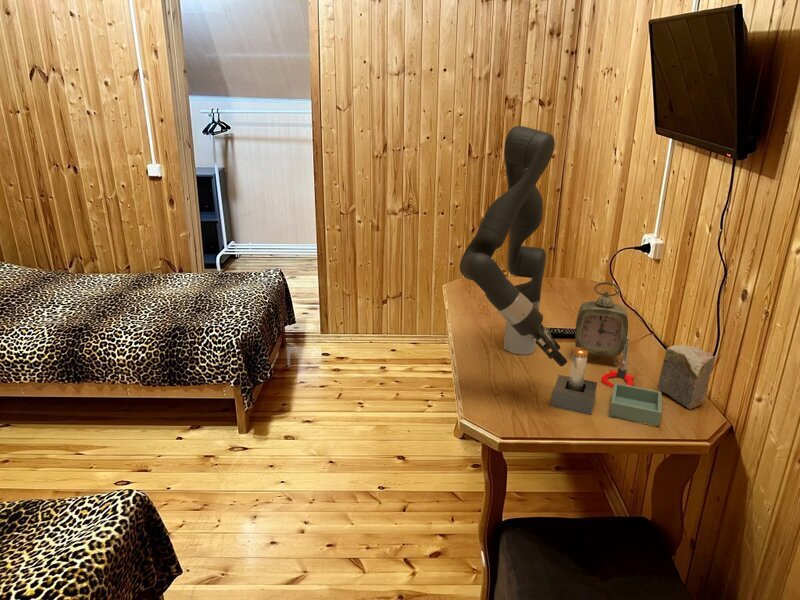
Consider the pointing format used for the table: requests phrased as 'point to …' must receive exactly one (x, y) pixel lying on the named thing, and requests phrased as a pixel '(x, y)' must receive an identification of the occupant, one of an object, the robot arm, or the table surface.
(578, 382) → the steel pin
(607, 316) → the tabletop clock
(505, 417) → the table surface
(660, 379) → the geological specimen
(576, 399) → the block
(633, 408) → the tray
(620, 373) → the tow hook
